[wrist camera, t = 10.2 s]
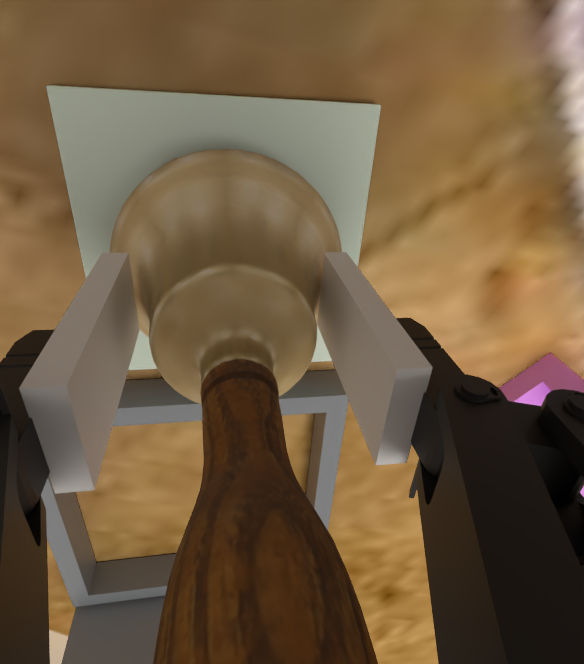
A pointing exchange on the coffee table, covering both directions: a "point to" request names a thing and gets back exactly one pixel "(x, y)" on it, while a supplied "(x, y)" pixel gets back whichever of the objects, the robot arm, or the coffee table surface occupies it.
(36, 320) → the coffee table surface
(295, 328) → the hand bell
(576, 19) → the coffee table surface
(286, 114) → the pad
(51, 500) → the hatch
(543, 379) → the bracket
